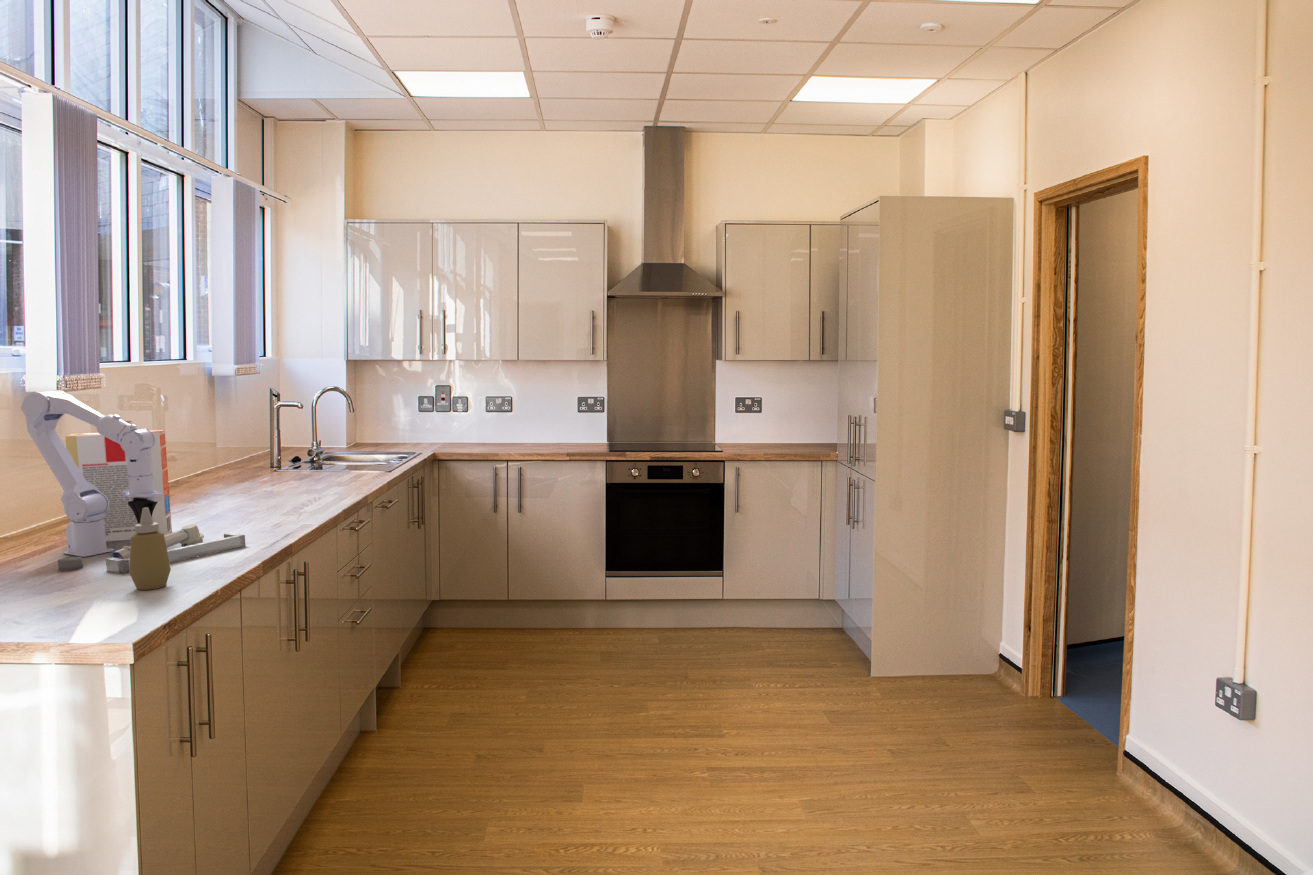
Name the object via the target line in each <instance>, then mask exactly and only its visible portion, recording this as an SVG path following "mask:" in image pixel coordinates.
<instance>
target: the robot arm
mask: <svg viewBox="0 0 1313 875" xmlns="http://www.w3.org/2000/svg"><path fill="white" fill-rule="evenodd" d="M20 410H21V411H22V412H23V414H24V416H25V421H26V428H27V429H26V430H27V432H28V434H29V436H30V437H31V439H32V441H33V442H34V444H35V446H36V447H37V449H38V451H39V452H40V455H41V456H42V457H43V459H44V460H45V462H46V464H47V465H48V467H49V469H50V470H51V472H52V473H53V475H54V477H55V478H56V481H57V482H58V483H59V485H60V487H61V488H62V490H63V492H62V495H61V497H60V500H61V502H62V504H63V510H64V514H65V515H66V517H67V518H68V519H69V520H70V521H69V522H68V523H67V525H66V528H65V536H66V537H65V538H66V549H67V550H66V551H63V554H65V555H71V556H74V557H82V558H83V557H84V558H86V557H90V556H95V555H100V554H104V553H109V552H110V553H112V552H115V549H114V548H111V547H110V548H109V547H107V541H106V536H105V523H104V517H105V512H106V511H107V510H108V508H109V500H108V498H107V497H106V496H105V495H104V494H103V493H101V492H100V491H99V490H98V488H97V487H96V486H95V485H93V484H91V483H89V482H87V481H86V480H85V478H84V476H83V475H82V473H81V471H80V470H79V468H78V467H77V465H76V463H75V462H74V460H73V458H72V457H71V455H70V453H69V452H68V450H67V449H66V444H65V443H63V440H62V439H61V437H60V435H59V434H58V432H57V431H56V427H57V426H58V423H59V422H60V420H61V419H62V418H63V417H64V415H66V414H67V415H69V416H72V417H74V418H76V419H78V420H80V421H83V422H85V423H87V424H89V425H91V426H94V427H96V431H97V432H96V433H99V434H101V435H103V436H105V437H107V438H109V439H111V440H112V441H114V442H116V443H118V444H120V446H121V448H122V449H123V450H124V451H125V454H126V457H127V470H128V482H129V490H126V491H122V496H123V498H133V501H129V502H128V505H129V506H130V507H131V509H132V510H133V512H134V514H135V516H136V519H137V522H138V524H140V520H141V514H142V509H143V508H149V511H150V514H151V517H152V514H153V510H154V508H155V506H156V504H157V502H158V501H163V495H162V493H159V492H156V491H154V480H153V467H152V454H151V448H152V447H153V446H154V443H155V437H154V435H153V433H152V432H151V431H152V430H150V429H148V428H144V427H142V428H138V426H137V425H136V424H134V423H133V424H131V423H129V422H126V421H125V420H123V419H121V415H118V414H107V415H104V414H101V412H99V411H96V410H95V409H93V408H92V407H90V406H88V405H87V404H85V403H83V402H81V401H80V400H78V399H77V398H75V397H74V396H73V395H72V394H69V393H66V392H65V391H63V390H58V389H56V390H50V391H32V392H31V391H30V392H29V393H27V394H26V395H25V396H24V398H23V400H22V403H21V406H20Z"/></svg>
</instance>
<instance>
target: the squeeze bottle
mask: <svg viewBox="0 0 1313 875" xmlns="http://www.w3.org/2000/svg"><path fill="white" fill-rule="evenodd" d="M158 530H159V523H156V522H153V520H152V517H151V514H150V511H149V508H143V509H142V514H141V520H140V524H136V525H135V532H136V533H137V534H134V535H133V536H132V537H131V540H130V546H131V548H130V572H129V576H130V578H131V580H132V581H133V582H132V583H133V584H134V586H135V588H136V590H139V591H149V590H156V589H160V588H162V587H165V586H167V583H168V580H169V577H170V573H171V570H172V569H171V563H169V558H168V553H167V550H168V548H167V547H166V542H165V537H164V534H163V533H162V532H159V531H158Z"/></svg>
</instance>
